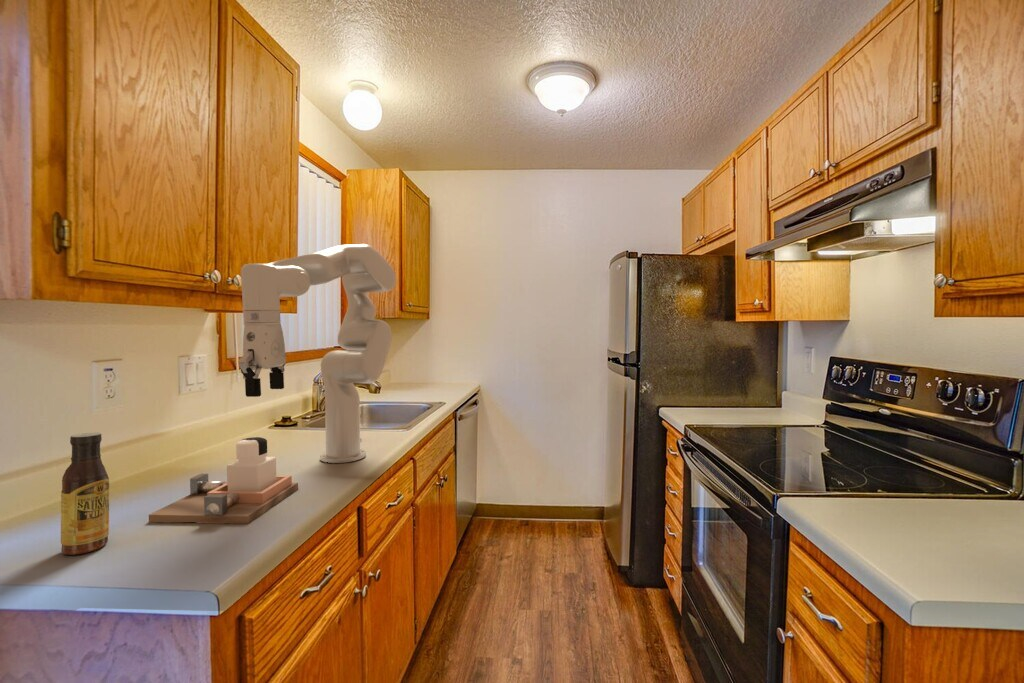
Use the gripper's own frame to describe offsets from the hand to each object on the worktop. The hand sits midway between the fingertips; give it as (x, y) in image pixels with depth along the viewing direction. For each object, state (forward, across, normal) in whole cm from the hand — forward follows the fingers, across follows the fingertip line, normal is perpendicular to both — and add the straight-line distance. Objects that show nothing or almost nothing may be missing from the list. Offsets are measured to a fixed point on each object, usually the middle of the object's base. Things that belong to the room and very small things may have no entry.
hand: (265, 392), depth 110 cm
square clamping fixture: (+23, -8, +4) cm, 25 cm away
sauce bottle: (+22, -30, +16) cm, 40 cm away
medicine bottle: (+22, -5, +1) cm, 22 cm away
